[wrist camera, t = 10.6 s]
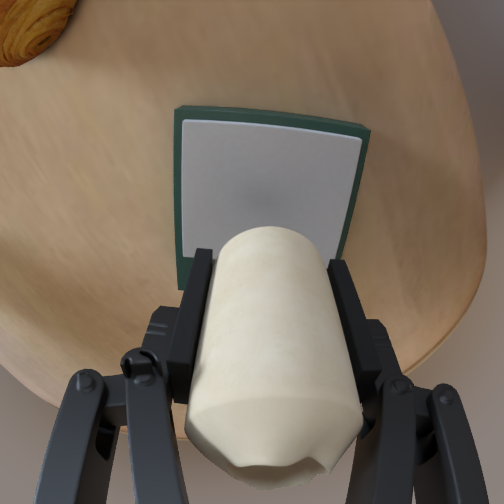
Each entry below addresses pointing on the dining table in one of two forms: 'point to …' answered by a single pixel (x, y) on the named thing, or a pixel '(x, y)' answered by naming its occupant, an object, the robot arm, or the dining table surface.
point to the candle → (272, 365)
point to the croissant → (30, 28)
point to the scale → (262, 178)
